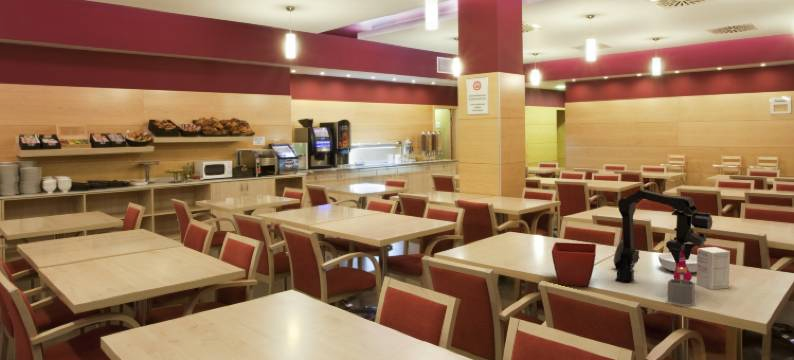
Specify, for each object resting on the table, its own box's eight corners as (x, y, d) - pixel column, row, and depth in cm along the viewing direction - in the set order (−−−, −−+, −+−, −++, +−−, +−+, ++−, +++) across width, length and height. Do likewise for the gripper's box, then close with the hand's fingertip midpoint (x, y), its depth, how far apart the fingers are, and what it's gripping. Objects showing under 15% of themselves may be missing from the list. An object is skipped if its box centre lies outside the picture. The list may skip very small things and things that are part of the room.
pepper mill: (695, 287, 234) (689, 243, 233) (677, 289, 235) (671, 245, 235) (689, 283, 241) (684, 240, 240) (672, 285, 243) (667, 242, 242)
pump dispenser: (631, 267, 273) (631, 238, 271) (638, 272, 263) (638, 242, 261) (610, 267, 274) (611, 238, 272) (616, 272, 264) (617, 242, 262)
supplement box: (714, 282, 245) (715, 246, 243) (729, 288, 235) (731, 251, 234) (695, 283, 243) (696, 247, 241) (710, 289, 234) (712, 252, 232)
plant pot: (551, 286, 245) (551, 250, 243) (554, 275, 263) (555, 241, 261) (595, 290, 238) (595, 253, 236) (596, 278, 256) (596, 244, 254)
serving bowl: (659, 274, 259) (660, 260, 258) (656, 264, 278) (656, 251, 277) (708, 278, 251) (709, 264, 250) (701, 267, 270) (702, 253, 270)
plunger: (669, 286, 218) (669, 267, 217) (674, 282, 223) (675, 264, 223) (688, 290, 213) (688, 270, 213) (693, 286, 218) (694, 267, 218)
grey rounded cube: (664, 302, 219) (664, 282, 218) (671, 296, 226) (672, 277, 225) (690, 307, 212) (691, 287, 211) (697, 301, 219) (698, 281, 218)
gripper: (693, 232, 216) (692, 269, 218) (713, 226, 228) (711, 261, 230) (666, 228, 225) (664, 263, 227) (686, 222, 237) (684, 256, 238)
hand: (682, 261), depth 230 cm, fingers open, 9 cm apart
